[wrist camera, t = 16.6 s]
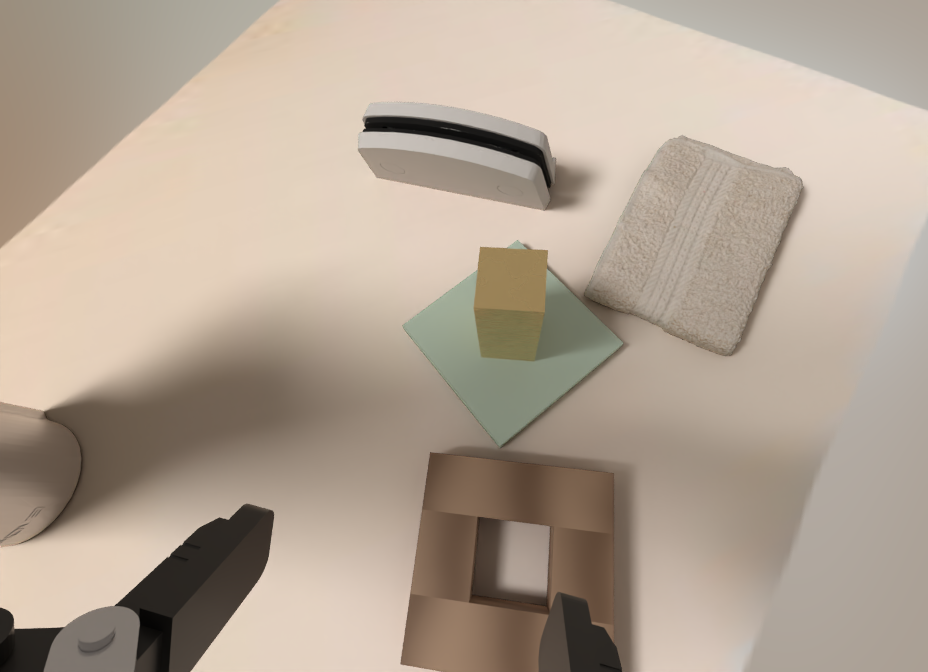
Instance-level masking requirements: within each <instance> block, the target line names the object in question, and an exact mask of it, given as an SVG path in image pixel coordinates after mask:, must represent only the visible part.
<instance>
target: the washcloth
mask: <svg viewBox="0 0 928 672" xmlns="http://www.w3.org/2000/svg"><path fill="white" fill-rule="evenodd" d="M802 188H803V184H802V180H801V178H800V177H798V176H795V175H794V174H793V173H792V171H791V170H790V169H789V168H786V167H783V168H774V167H770V166H768V165H764V164H760V163H757V162H754V161H751V160H749V159H746V158H744V157H741V156H737V155H735V154H732V153H729V152H727V151H724V150H722V149H719V148H717V147H715V146H712V145H709V144H706V143H702V142H699V141H695V140H692V139H689V138H687V137H685V136H683V135H682V136H679V137H678V138H673V139H670V140H668V141H666V142H665V143H664V144H663V145H662V146H661V147H660V148H659V150H658V151H657V152H656V154H655V156H654V158H653V160H652V161H651V163H650V164H649V166H648V168H647V169H646V170H645V171H644V172H643V174H642V176H641V178H640V180H639V182H638V184H637V186H636V187H635V189H634V192H633V193H632V196H631V198H630V200H629V202H628V204H627V206H626V208H625V210H624V211H623V214H622V215H621V216H620V218H619V221H618V224H617V226H616V228H615V230H614V232H613V234H612V237H611V239H610V241H609V243H608V244H607V246H606V248H605V250H604V251H603V253H602V255H601V257H600V260H599V262H598V263H597V266H596V268H595V271H594V274H593V276H592V278H591V281H590V282H589V285H588V287H587V289H586V291H585V293H584V295H585V296H586V297H588V298H589V299H591V300H592V301H596V302H599V304H602V305H605V306H607V307H610V308H611V309H614V310H616V311H620V312H623V313H627V314H629V313H631V314H634V315H636V316H639V317H640V318H642V319H644V320H648V321H649V322H650V323H652V324H656V325H658V326H659V327H662V329H663V330H664V331H665V332H668V333H669V334H671V335H674V336H676V337H680V338H681V339H682V340H686V341H688V342H690V343H693V344H695V345H696V346H697V347H703V348H704V349H707V350H709V351H712V352H715V353H717V354H720V355H725V356H727V355H729V356H730V355H731V354H732V352H733V350H734V349H735V347H736V343H738V342H740V340H741V338H740V336H741V335H742V333H743V331H744V328H745V326H746V323H747V320H748V315H749V314H750V313H751V312H752V310H753V304H754V303H755V302H756V299H757V297H758V292H759V290H760V286H761V284H762V282H763V281H764V278H765V274H766V272H767V271H768V269H769V268H770V267H771V266H772V265H773V264H771V262H772V259H773V258H774V257H773V256H774V253H775V252H776V250H777V249H776V248H777V246H778V245H779V244H780V242H781V238H782V233H783V231H784V229H785V227H786V226H787V223H788V219H789V216H790V215H791V214H792V212H793V208H794V206H795V205H796V204H797V199H798V198H799V194H800V193H801V189H802Z"/></svg>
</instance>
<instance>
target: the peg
mask: <svg viewBox="0 0 928 672" xmlns="http://www.w3.org/2000/svg"><path fill="white" fill-rule="evenodd" d="M547 256H548V250H531V249H510V248H489V247H480V253H479V262H478V271H477V280H476V289H475V298H474V307H473V308H474V314H475V321H476V328H477V334H478V341H479V347H480V354H481V357H483V358H496V359H509V360H522V361H535V356H536V351H537V346H538V342H539V337H540V332H541V328H542V323H543V318H544V314H545V297H546V277H547Z"/></svg>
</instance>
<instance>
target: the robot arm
mask: <svg viewBox="0 0 928 672" xmlns="http://www.w3.org/2000/svg"><path fill="white" fill-rule="evenodd" d="M80 471H81V453H80V446H79V444H78V442H77V439H76V437H75V436H74V435H73V433H72V432H71V431H70V430H69V429H68V428H66V427H65V426H63V425H62V424H59V423H56V422H53V421H50V420H48V419H47V418H46V417H45V414H44V412H43V411H41V410H36V409H31V408H26V407H22V406H17V405H12V404H7V403H2V402H0V547H5V546H11V545H16V544H18V543H21V542H24V541H26V540H29V539H30V538H32V537H34V536H35V535H37V534H39V533H40V532H41V531H43V530H44V529H45V528H46V527H47V526H49V525H50V524H51V523H52V522H53V521H54V520H55V519H56V518H57V516H58V515H59V514H60V513H61V512H62V511H63V509H64V508H65V506H66V505H67V503H68V501H69V500H70V498H71V497H72V494H73V492H74V490H75V488H76V485H77V482H78V478H79V475H80ZM273 520H274V512H273V511H272V510H268V509H265V508H261V507H257V506H254V505H250V504H245V505H243V506H242V507H241V508H240V509H239V510H238V511H237V512H236V513H235V514H234V515H233V516H232V517H231V518H230V519H229V520H226V519H223V518H218V519H216V520H214V521H212V522H210V523H208V524H206V525H204V526H202V527H200V528H198V529H197V530H196V531H195V532H194V533H193V534H192V535H191V536H190V537H189V538H188V539H187V540H185V541H184V543H183V545H180V546H179V547H178V548H177V549H176V550H175V551H174V552H172V553H171V555H170V557H169V558H168V557H167V558H166V559H165V560H164V561H163V562H162V563H161V564H160V565H158V566H157V567H156V568H155V569H154V570H153V571H152V572H151V573H150V574H149V575H148V576H147V577H145V578H144V579H143V580H142V581H141V582H140V583H139V584H138V585H137V586H136V587H135V588H134V589H132V590H131V591H130V592H129V593H128V594H127V595H126V596H125V597H124V598H123V599H122V600H121V601H120V602H118V603H117V604H116V605H115V606H110V607H104V608H100V609H96V610H93V611H90V612H88V613H86V614H84V615H82V616H80V617H78V618H76V619H75V620H73V621H72V622H70V623H69V624H68V625H67V626H66V627H61V628H33V629H14V618H13V615H12V614H11V613H10V612H9V611H8V610H6V609H3V608H0V672H190V671H191V670H192V669H193V667H194V666H195V665H196V663H197V662H198V661H199V659H200V658H201V657H202V655H203V654H204V653H205V651H206V650H207V649H208V647H209V646H210V645H211V643H212V642H213V641H214V639H215V638H216V637H217V635H218V634H219V633H220V631H221V630H222V629H223V627H224V626H225V624H226V623H227V622H228V620H229V619H230V618H231V616H232V615H233V614H234V612H235V611H236V610H237V608H238V607H239V606H240V604H241V603H242V602H243V600H244V599H245V598H246V596H247V595H248V594H249V592H250V591H251V590H252V588H253V587H254V586H255V584H256V583H257V581H258V580H259V578H260V577H261V575H262V573H263V571H264V569H265V566H266V564H267V561H268V557H269V550H270V543H271V535H272V528H273ZM538 666H539V672H622V668H621V664H620V660H619V656H618V652H617V648H616V646H615V645H614V643H613V641H612V640H611V638H610V636H609V635H608V633H607V631H606V630H605V628H604V627H601V626H597V625H594V624H592V622H591V617H590V612H589V607H588V603H587V601H586V599H583V598H579V597H576V596H572V595H568V594H565V593H561V592H557V593H556V595H555V598H554V601H553V604H552V607H551V610H550V613H549V616H548V618H547V621H546V624H545V627H544V630H543V633H542V637H541V641H540V647H539V657H538Z"/></svg>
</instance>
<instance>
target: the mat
mask: <svg viewBox="0 0 928 672" xmlns="http://www.w3.org/2000/svg"><path fill="white" fill-rule="evenodd" d="M508 248H510V249H527V248H525V247H524V246H523V245H522V244H521V243H520V242H519V241H518V240H517V241H516V242H514V243H513V244H512V245H510V246H509V247H508ZM477 271H478V270H477ZM477 271H475V272H474V273H473V274H471V275H470V276H469V277H467V278H466V279H465V280H463V281H462V282H460V283H459V284H458V285H456V286H455V287H454V288H452V289H451V290H450V291H448V292H447V293H446V294H444V295H443V296H442V297H440V298H439V299H438V300H436V301H435V302H434V303H432V304H431V305H430V306H428V307H427V308H425V309H424V310H423V311H421V312H420V313H419V314H417V315H416V316H415V317H413V318H412V319H411V320H409V321H408V322H407V323H405V324H404V325H403V328H404V330H405V331H406V332H407V334H408V335H409V336H410V337H411V339H412V340H413V341H414V342H415V344H416V345H417V346H418V347H419V348H420V350H421V351H422V352H423V353H424V355H425V356H426V357H427V358H428V360H429V361H430V362H431V363H432V365H433V366H434V367H435V368H436V370H437V371H438V372H439V373H440V375H441V376H442V377H443V378H444V379H445V381H446V382H447V383H448V384H449V386H450V387H451V388H452V389H453V391H454V392H455V393H456V394H457V396H458V397H459V398H460V399H461V401H462V402H463V403H464V404H465V406H466V407H467V408H468V409H469V410H470V412H471V413H472V414H473V415H474V417H475V418H476V419H477V420H478V422H479V423H480V424H481V425H482V427H483V428H484V429H485V430H486V432H487V433H488V434H489V435H490V436H491V438H492V439H493V440H494V441H495V443H496V444H497V445H498V446H499V448H501V447H502V446H503V445H504V444H506V443H507V442H508V441H509V440H510V439H511V438H513V437H514V436H515V435H516V434H517V433H519V432H520V431H521V430H522V429H523V428H525V427H526V426H527V425H528V424H529V423H531V422H532V421H533V420H534V419H535V418H537V417H538V416H539V415H540V414H541V413H543V412H544V411H545V410H546V409H547V408H549V407H550V406H551V405H552V404H553V403H555V402H556V401H557V400H558V399H559V398H561V397H562V396H563V395H564V394H565V393H567V392H568V391H569V390H570V389H571V388H573V387H574V386H575V385H576V384H577V383H579V382H580V381H581V380H582V379H583V378H585V377H586V376H587V375H588V374H589V373H590V372H592V371H593V370H594V369H595V368H596V367H598V366H599V365H600V364H601V363H602V362H604V361H605V360H606V359H607V358H608V357H610V356H611V355H612V354H613V353H614V352H616V351H617V350H618V349H619V348H620V347H621V346H622V345H623V342H622V341H621V340H620V339H619V338H618V337H617V336H616V335H615V334H614V333H613V332H612V331H611V330H610V329H609V328H608V327H606V326H605V325H604V324H603V323H602V322H601V321H600V320H599V319H598V318H597V317H596V316H595V315H594V314H593V313H592V312H591V311H590V310H589V309H588V308H587V307H586V306H585V305H584V304H583V303H582V302H581V301H580V300H579V299H578V298H577V297H576V296H575V295H574V294H573V293H572V292H571V291H570V290H569V289H568V288H567V287H565V286H564V285H563V284H562V283H561V282H560V281H559V280H558V279H557V278H556V277H555V276H554V275H553V274H552V273H551V272H550V271H549V270H548V269H547V277H546V297H545V314H544V318H543V323H542V328H541V332H540V337H539V342H538V346H537V351H536V356H535V361H522V360H509V359H496V358H483V357H481V354H480V347H479V341H478V334H477V328H476V321H475V314H474V308H473V307H474V298H475V289H476V280H477Z"/></svg>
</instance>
